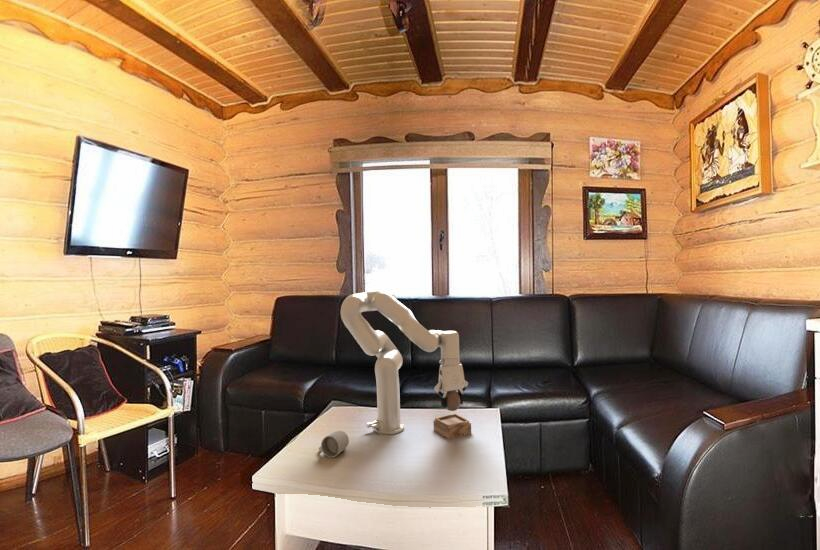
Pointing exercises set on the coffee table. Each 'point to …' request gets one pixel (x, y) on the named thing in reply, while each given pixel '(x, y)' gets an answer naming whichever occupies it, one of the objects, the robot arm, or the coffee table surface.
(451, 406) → the vase
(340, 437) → the ceramic mug
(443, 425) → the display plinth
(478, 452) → the coffee table surface
